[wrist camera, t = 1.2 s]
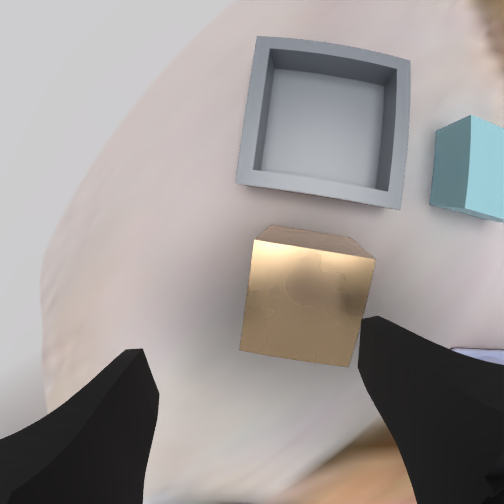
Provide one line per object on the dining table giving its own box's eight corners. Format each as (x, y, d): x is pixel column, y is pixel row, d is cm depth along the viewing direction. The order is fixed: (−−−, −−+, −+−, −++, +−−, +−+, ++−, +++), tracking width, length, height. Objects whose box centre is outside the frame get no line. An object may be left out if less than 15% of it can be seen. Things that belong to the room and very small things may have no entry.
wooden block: (350, 237, 19) (375, 259, 12) (335, 312, 20) (348, 366, 13) (271, 224, 19) (254, 239, 13) (259, 300, 20) (239, 350, 14)
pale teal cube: (492, 150, 16) (533, 142, 11) (486, 219, 17) (527, 227, 12) (435, 131, 17) (470, 114, 12) (428, 204, 18) (464, 208, 13)
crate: (394, 80, 16) (410, 60, 13) (383, 207, 18) (400, 210, 15) (264, 60, 18) (257, 36, 14) (246, 185, 19) (235, 183, 16)
